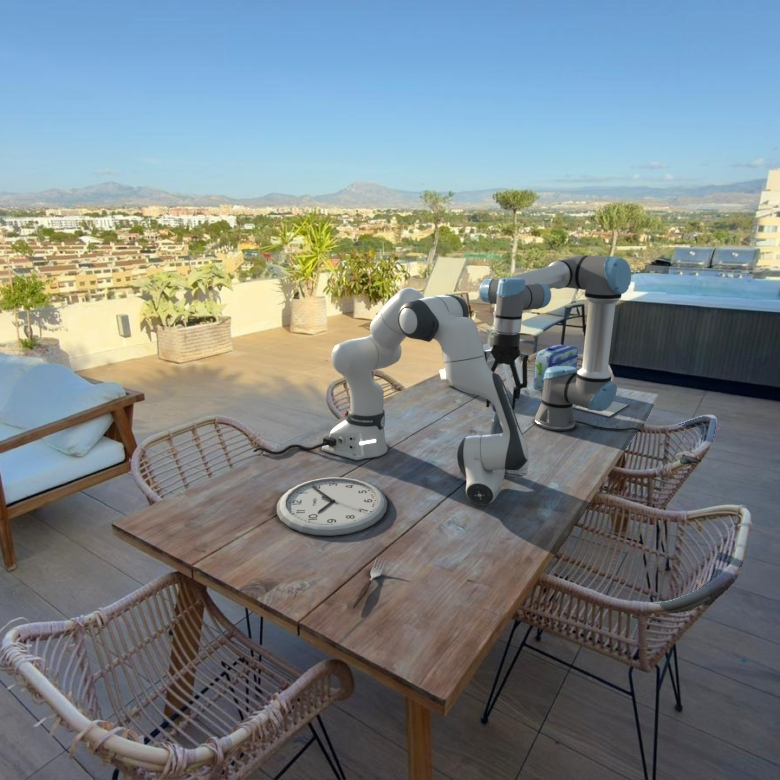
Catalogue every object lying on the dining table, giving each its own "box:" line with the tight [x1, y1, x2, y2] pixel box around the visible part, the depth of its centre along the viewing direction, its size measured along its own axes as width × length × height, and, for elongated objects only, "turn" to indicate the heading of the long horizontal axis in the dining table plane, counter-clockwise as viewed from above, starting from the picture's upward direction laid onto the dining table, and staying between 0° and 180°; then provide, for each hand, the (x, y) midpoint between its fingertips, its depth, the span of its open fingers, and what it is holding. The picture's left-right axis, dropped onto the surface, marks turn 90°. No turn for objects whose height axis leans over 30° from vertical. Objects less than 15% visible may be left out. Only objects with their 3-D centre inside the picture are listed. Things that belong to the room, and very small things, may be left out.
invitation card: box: [573, 400, 629, 418], centre depth 226 cm, size 21×1×15 cm
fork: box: [352, 555, 387, 609], centre depth 110 cm, size 3×16×2 cm, turn 160°
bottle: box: [490, 412, 503, 434], centre depth 161 cm, size 5×5×22 cm
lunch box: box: [533, 344, 579, 392], centre depth 247 cm, size 26×11×21 cm, turn 134°
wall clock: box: [276, 476, 388, 537], centre depth 142 cm, size 30×2×30 cm
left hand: (497, 451), depth 164 cm, fingers closed on bottle, 5 cm apart
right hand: (500, 407), depth 158 cm, fingers open, 7 cm apart
